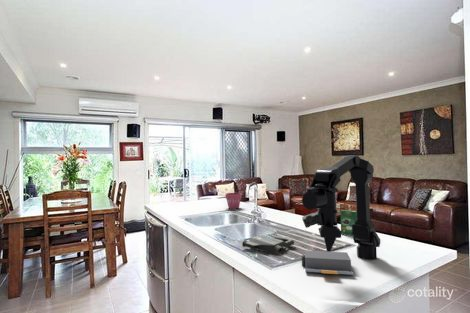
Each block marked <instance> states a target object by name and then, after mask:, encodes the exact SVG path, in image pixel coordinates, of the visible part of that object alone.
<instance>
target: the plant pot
mask: <svg viewBox="0 0 470 313" xmlns="http://www.w3.org/2000/svg"><path fill="white" fill-rule="evenodd" d="M242 197H243V196H242V193H241V192H229V193H225V199H226V202H227V206H228V209H229V208H230V209H229V210H237V209H236V208H239V209H240V205H241V199H242Z"/></svg>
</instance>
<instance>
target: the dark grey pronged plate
mask: <svg viewBox="0 0 470 313" xmlns="http://www.w3.org/2000/svg"><path fill="white" fill-rule="evenodd" d="M294 244H295V240H293V239H291V238H287V237H283V236H279V235H277V236H269V235H268V236H267V235H264V234H263V235H262V234H261V235H259V236H252V237H251V238H250V239H249V240H247V239H244V240H243V241H242V244H241V246H242V247H243V248H249V249H252V250H257V251H258V250H259V251H262V252H264V253H267V254H277V255H281V254H283V252H284V251H286V250H287V249H288V247H291V246H293V245H294Z"/></svg>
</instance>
